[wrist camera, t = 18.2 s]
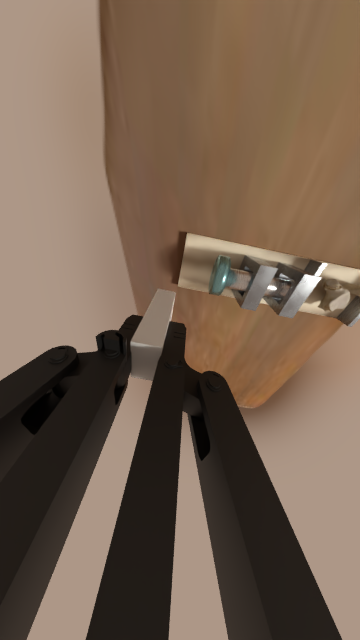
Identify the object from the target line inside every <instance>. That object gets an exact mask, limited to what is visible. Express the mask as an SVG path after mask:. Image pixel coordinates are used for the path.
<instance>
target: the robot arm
mask: <svg viewBox="0 0 360 640" xmlns="http://www.w3.org/2000/svg"><path fill="white" fill-rule="evenodd" d="M175 295H176V292H172V291H167V290H162V289H158V290H157V292H156V294H155V296H154V298H153V300H152V302H151V303H150V305H149V307H148V309H147V311H146V313H145V315H144V317H143V316H137V315H131V316H130V317H128V318H127V319H126V320H125V322H124V324H123V325H122V326H121V328H120V329H119V330H108V331H104V332H102V333H100V334H98V335H97V336H96V341H97V346H98V351H96V352H87V353H77V351H76V349H75V348H73V347H71V346H58V347H55V348H52V349H50V350H48V351H46V352H44V353H43V354H41V355H40V356H38V357H37V358H36V359H34V360H32V361H31V362H29V363H27V364H26V365H24V366H23V367H21V368H19V369H18V370H17V371H15V372H13V373H12V374H10V375H9V376H7V377H6V378H4V379H2V380H1V381H0V640H26V639H27V637H28V634H29V632H30V629H31V627H32V624H33V622H34V619H35V617H36V614H37V612H38V609H39V607H40V604H41V601H42V599H43V596H44V594H45V591H46V589H47V587H48V584H49V581H50V579H51V576H52V574H53V571H54V569H55V566H56V564H57V561H58V559H59V556H60V554H61V551H62V549H63V546H64V544H65V541H66V539H67V536H68V534H69V531H70V529H71V526H72V524H73V521H74V519H75V516H76V514H77V511H78V509H79V506H80V504H81V501H82V499H83V496H84V494H85V491H86V488H87V486H88V484H89V481H90V479H91V476H92V474H93V471H94V469H95V466H96V464H97V461H98V459H99V456H100V454H101V451H102V449H103V446H104V443H105V441H106V438H107V436H108V433H109V431H110V428H111V426H112V423H113V421H114V418H115V416H116V413H117V411H118V408H119V406H120V403H121V401H122V398H123V396H124V393H125V391H126V388H127V385H128V377H129V375H130V373H131V377H134V378H140V379H146V380H151V381H153V382H152V386H151V390H150V394H149V398H148V401H147V405H146V409H145V413H144V417H143V421H142V425H141V429H140V433H139V436H138V440H137V444H136V448H135V452H134V456H133V459H132V463H131V467H130V471H129V475H128V479H127V483H126V486H125V490H124V494H123V498H122V502H121V506H120V510H119V514H118V517H117V521H116V525H115V529H114V533H113V537H112V541H111V544H110V548H109V552H108V556H107V560H106V564H105V568H104V572H103V575H102V579H101V583H100V587H99V591H98V594H97V598H96V603H95V606H94V610H93V614H92V618H91V622H90V626H89V629H88V633H87V637H86V640H168V637H169V620H170V605H171V589H172V573H173V557H174V541H175V524H176V508H177V492H178V476H179V459H180V443H181V427H182V411H184V412H186V413H187V414H188V420H189V425H190V431H191V436H192V441H193V446H194V453H195V458H196V464H197V468H198V475H199V480H200V485H201V491H202V496H203V502H204V508H205V512H206V518H207V524H208V529H209V535H210V540H211V546H212V551H213V557H214V562H215V568H216V573H217V579H218V584H219V589H220V595H221V601H222V606H223V612H224V617H225V623H226V628H227V634H228V639H229V640H342V638H341V636H340V634H339V632H338V629H337V627H336V625H335V623H334V620H333V618H332V616H331V614H330V612H329V609H328V607H327V605H326V603H325V600H324V598H323V596H322V594H321V592H320V589H319V587H318V585H317V583H316V580H315V578H314V576H313V574H312V571H311V569H310V567H309V565H308V562H307V560H306V558H305V556H304V553H303V551H302V549H301V547H300V545H299V542H298V540H297V538H296V536H295V534H294V531H293V529H292V527H291V525H290V522H289V520H288V518H287V515H286V513H285V511H284V509H283V507H282V504H281V502H280V500H279V498H278V495H277V493H276V491H275V489H274V487H273V485H272V482H271V480H270V477H269V475H268V473H267V471H266V469H265V466H264V464H263V462H262V460H261V457H260V455H259V454H258V451H257V449H256V446H255V444H254V442H253V440H252V437H251V435H250V433H249V431H248V428H247V426H246V424H245V422H244V420H243V417H242V415H241V413H240V410H239V408H238V406H237V404H236V401H235V399H234V397H233V395H232V393H231V390H230V388H229V386H228V384H227V382H226V380H225V379H224V378H223V377H222V376H221V375H220V374H218V373H216V372H214V371H206V372H204V373H202V374H201V373H199V372H197V371H195V370H193V369H192V368H190V367H189V366H188V365H187V363H186V361H185V358H184V354H185V339H186V327H185V325H184V324H182V323H177V322H172V321H171V318H172V312H173V306H174V301H175Z"/></svg>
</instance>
